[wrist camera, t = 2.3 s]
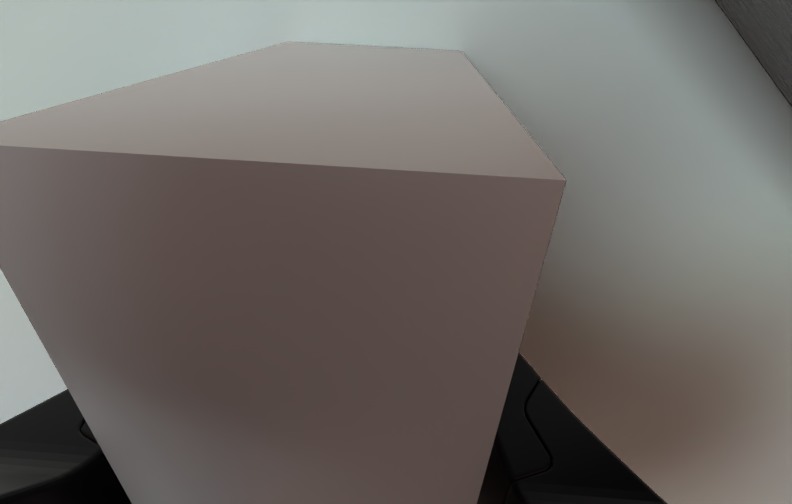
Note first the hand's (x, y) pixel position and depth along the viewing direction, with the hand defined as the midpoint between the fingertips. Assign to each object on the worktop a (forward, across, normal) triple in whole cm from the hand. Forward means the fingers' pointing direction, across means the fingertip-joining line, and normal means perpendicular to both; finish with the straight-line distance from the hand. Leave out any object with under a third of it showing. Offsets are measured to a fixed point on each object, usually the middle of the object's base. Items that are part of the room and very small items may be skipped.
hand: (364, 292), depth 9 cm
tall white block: (+2, 0, 0) cm, 2 cm away
